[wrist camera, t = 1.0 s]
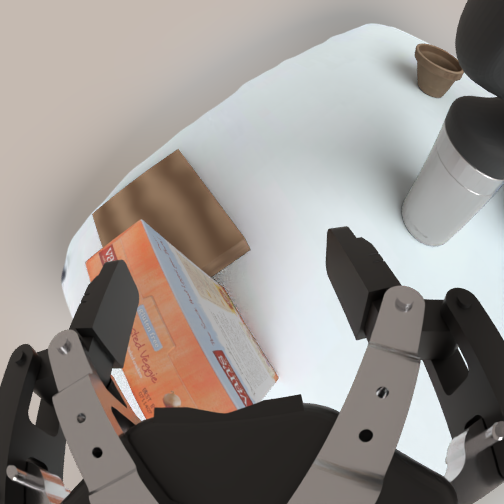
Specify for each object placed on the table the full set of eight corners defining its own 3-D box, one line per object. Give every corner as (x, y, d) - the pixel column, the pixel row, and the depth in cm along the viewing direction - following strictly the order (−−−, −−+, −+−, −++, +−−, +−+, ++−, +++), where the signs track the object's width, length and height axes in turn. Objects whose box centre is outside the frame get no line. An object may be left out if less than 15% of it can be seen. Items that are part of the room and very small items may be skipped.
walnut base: (186, 163, 45) (178, 149, 42) (250, 249, 38) (244, 238, 34) (105, 224, 44) (92, 214, 40) (146, 322, 37) (131, 318, 33)
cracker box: (187, 309, 36) (79, 259, 17) (224, 286, 37) (144, 211, 17) (238, 401, 31) (159, 455, 12) (280, 379, 31) (250, 418, 12)
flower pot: (460, 110, 41) (473, 77, 32) (418, 102, 43) (428, 65, 34) (441, 80, 45) (450, 49, 36) (401, 72, 47) (408, 39, 38)
